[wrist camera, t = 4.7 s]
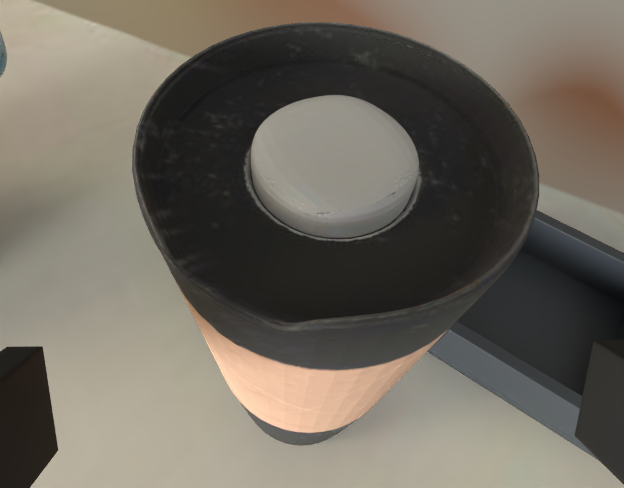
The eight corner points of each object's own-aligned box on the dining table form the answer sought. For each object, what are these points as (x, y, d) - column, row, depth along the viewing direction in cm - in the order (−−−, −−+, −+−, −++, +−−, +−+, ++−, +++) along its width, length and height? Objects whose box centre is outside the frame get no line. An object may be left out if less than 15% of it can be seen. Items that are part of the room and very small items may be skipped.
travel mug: (340, 309, 27) (434, 3, 10) (382, 427, 23) (648, 260, 6) (228, 338, 25) (112, 36, 8) (253, 470, 22) (135, 404, 5)
